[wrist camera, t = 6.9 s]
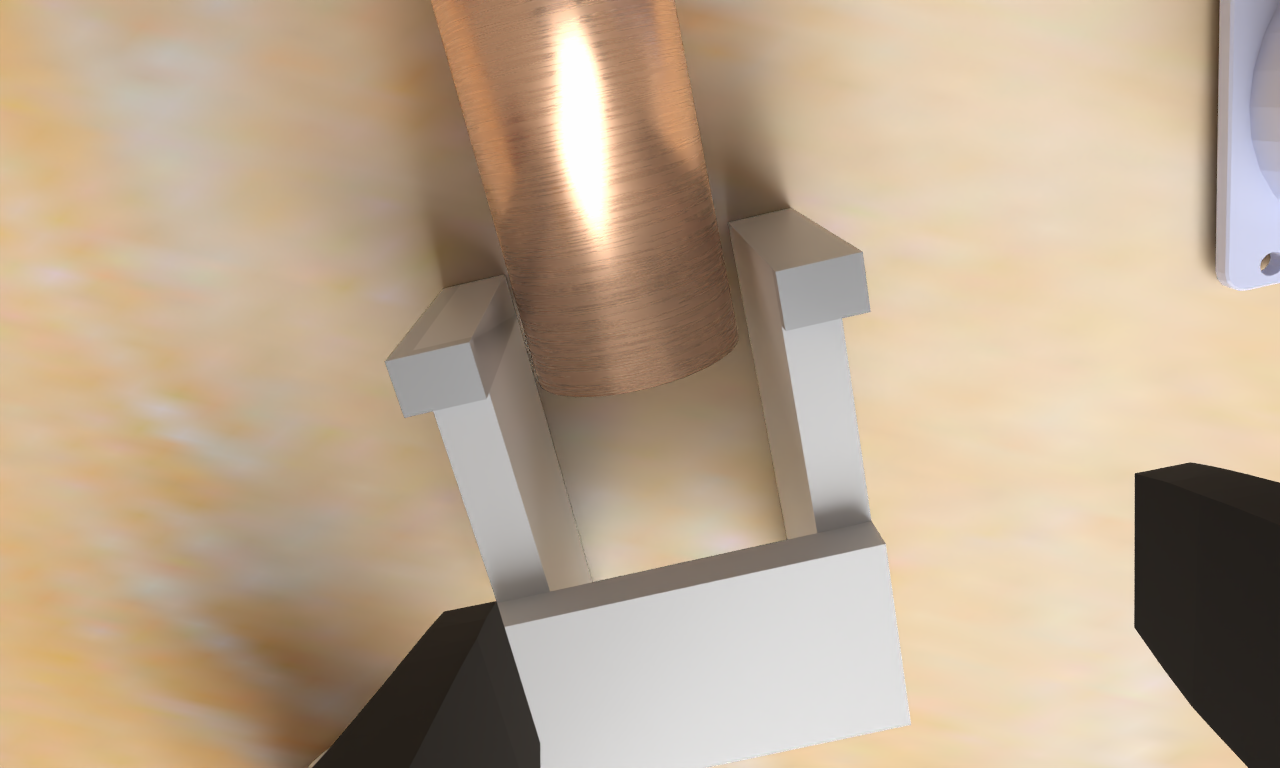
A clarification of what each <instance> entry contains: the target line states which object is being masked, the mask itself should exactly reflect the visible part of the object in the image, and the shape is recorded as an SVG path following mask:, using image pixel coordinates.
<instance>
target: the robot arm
mask: <svg viewBox="0 0 1280 768" xmlns="http://www.w3.org/2000/svg"><path fill="white" fill-rule="evenodd" d="M1268 254H1270V261H1269V264H1268V265H1267V266H1266V268H1265V269H1263V270H1261V269H1260V265H1261V261H1262V260H1263V258H1264V257H1265V256H1266V255H1268ZM1216 275H1217V279H1218V280H1219V282H1220V283H1221V284H1222V285H1224V286H1227V287H1229V288H1232V289H1235V290H1239V291H1240V290H1250V289H1255V288H1259V287H1264V286H1268V285H1273V284H1277V283H1280V0H1220V20H1219V86H1218V152H1217V217H1216ZM1134 627H1135V629H1136V630H1137V632H1138V633H1139V635H1140V636H1141V637H1142V639H1143V640H1144V642H1145V643H1146V645H1147V646H1148V647H1149V649H1150V650H1151V652H1152V653H1153V654H1154V656H1155V657H1156V659H1157V660H1158V662H1159V663H1160V664H1161V666H1162V667H1163V669H1164V670H1165V671H1166V673H1167V674H1168V675H1169V677H1170V678H1171V679H1172V681H1173V682H1174V683H1175V685H1176V686H1177V687H1178V689H1179V690H1180V691H1181V693H1182V694H1183V695H1184V697H1185V698H1186V699H1187V701H1188V702H1189V703H1190V705H1191V706H1192V707H1193V708H1194V709H1195V710H1196V712H1197V713H1198V714H1199V715H1200V716H1201V717H1202V718H1203V719H1204V720H1205V721H1206V723H1207V724H1208V725H1209V726H1210V727H1211V728H1212V729H1213V730H1214V731H1215V732H1216V733H1217V735H1218V736H1219V737H1220V738H1221V739H1222V740H1223V741H1224V742H1225V743H1226V744H1227V745H1228V746H1229V747H1230V748H1231V750H1232V751H1233V752H1234V753H1235V754H1236V755H1237V756H1238V757H1239V758H1240V759H1241V760H1242V761H1243V762H1244V764H1245V765H1246V766H1247V767H1248V768H1280V483H1279V482H1275V481H1271V480H1267V479H1263V478H1259V477H1255V476H1252V475H1248V474H1244V473H1239V472H1235V471H1231V470H1227V469H1222V468H1218V467H1213V466H1207V465H1202V464H1196V463H1185V464H1180V465H1175V466H1170V467H1165V468H1160V469H1155V470H1150V471H1145V472H1140V473H1135V612H1134ZM312 768H541V765H540V740H539V737H538V734H537V731H536V727H535V724H534V721H533V718H532V714H531V711H530V708H529V705H528V701H527V698H526V695H525V692H524V688H523V685H522V682H521V679H520V675H519V672H518V669H517V666H516V663H515V659H514V656H513V653H512V650H511V646H510V643H509V640H508V637H507V633H506V630H505V627H504V624H503V620H502V617H501V614H500V611H499V607H498V604H497V601H495V602H490V603H485V604H480V605H475V606H470V607H465V608H460V609H455V610H450V611H445V612H443V613H442V615H441V616H440V617H439V618H438V619H437V620H436V621H435V622H434V623H433V625H432V626H431V627H430V628H429V629H428V630H427V632H426V633H425V634H424V635H423V636H422V638H421V639H420V640H419V641H418V642H417V644H416V645H415V646H414V647H413V649H412V650H411V651H410V652H409V654H408V655H407V656H406V657H405V658H404V660H403V661H402V662H401V663H400V665H399V666H398V667H397V668H396V670H395V671H394V672H393V673H392V674H391V676H390V677H389V678H388V679H387V681H386V682H385V683H384V684H383V685H382V687H381V688H380V689H379V690H378V691H377V693H376V694H375V695H374V696H373V697H372V699H371V700H370V701H369V702H368V703H367V705H366V706H365V707H364V708H363V709H362V711H361V712H360V713H359V714H358V715H357V717H356V718H355V719H354V720H353V721H352V723H351V724H350V725H349V726H348V727H347V729H346V730H345V731H344V732H343V733H342V735H341V736H340V737H339V738H338V739H337V740H336V742H335V743H334V744H333V745H332V746H331V747H330V748H329V749H328V751H327V752H326V753H325V754H324V755H323V756H322V757H321V758H320V759H319V760H318V762H317V763H316V764H315V765H314V766H313V767H312Z"/></svg>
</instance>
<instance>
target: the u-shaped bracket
mask: <svg viewBox="0 0 1280 768" xmlns="http://www.w3.org/2000/svg"><path fill="white" fill-rule="evenodd" d="M728 225H729V231H730V236H731V242H732V247H733V252H734V258H735V263H736V268H737V274H738V279H739V284H740V290H741V295H742V301H743V306H744V311H745V317H746V322H747V327H748V333H749V338H750V343H751V349H752V354H753V360H754V365H755V370H756V376H757V381H758V386H759V392H760V397H761V402H762V408H763V413H764V418H765V424H766V429H767V435H768V440H769V445H770V451H771V456H772V461H773V467H774V472H775V477H776V483H777V488H778V494H779V499H780V504H781V510H782V515H783V520H784V526H785V531H786V536H787V540H783V541H779V542H774V543H770V544H765V545H760V546H756V547H751V548H747V549H742V550H738V551H733V552H728V553H724V554H719V555H715V556H710V557H706V558H701V559H696V560H692V561H687V562H683V563H678V564H674V565H669V566H665V567H660V568H655V569H651V570H646V571H642V572H637V573H633V574H628V575H623V576H619V577H614V578H610V579H605V580H601V581H596V582H592V579H591V575H590V572H589V568H588V565H587V561H586V558H585V554H584V551H583V547H582V544H581V540H580V537H579V533H578V530H577V526H576V523H575V519H574V516H573V512H572V509H571V505H570V502H569V498H568V494H567V491H566V487H565V484H564V480H563V477H562V473H561V470H560V466H559V463H558V459H557V456H556V452H555V449H554V445H553V442H552V438H551V435H550V431H549V428H548V424H547V421H546V417H545V414H544V410H543V407H542V403H541V400H540V396H539V393H538V389H537V386H536V382H535V379H534V375H533V372H532V368H531V365H530V361H529V357H528V354H527V350H526V347H525V343H524V340H523V336H522V333H521V329H520V326H519V322H518V319H517V315H516V312H515V308H514V305H513V301H512V298H511V294H510V291H509V287H508V284H507V280H506V277H505V274H504V275H499V276H495V277H491V278H487V279H482V280H478V281H474V282H469V283H465V284H461V285H456V286H452V287H448V288H443V289H442V291H441V292H440V293H439V294H438V296H437V297H436V298H435V299H434V301H433V302H432V303H431V304H430V306H429V307H428V308H427V309H426V311H425V312H424V313H423V314H422V316H421V317H420V318H419V319H418V321H417V322H416V323H415V324H414V326H413V327H412V328H411V329H410V331H409V332H408V333H407V334H406V336H405V337H404V338H403V339H402V341H401V342H400V343H399V344H398V346H397V347H396V348H395V349H394V351H393V352H392V353H391V354H390V356H389V357H388V358H387V359H386V361H385V364H386V367H387V369H388V372H389V375H390V378H391V381H392V384H393V387H394V390H395V392H396V395H397V398H398V401H399V404H400V407H401V410H402V413H403V415H404V418H406V417H410V416H415V415H419V414H423V413H428V412H432V411H433V412H434V415H435V418H436V421H437V424H438V427H439V430H440V433H441V436H442V439H443V442H444V445H445V448H446V451H447V454H448V457H449V460H450V463H451V466H452V469H453V472H454V475H455V478H456V481H457V484H458V487H459V490H460V493H461V496H462V499H463V502H464V505H465V508H466V511H467V514H468V517H469V520H470V523H471V526H472V529H473V532H474V535H475V538H476V541H477V544H478V547H479V550H480V553H481V556H482V559H483V562H484V565H485V568H486V571H487V574H488V577H489V580H490V583H491V586H492V589H493V592H494V595H495V598H496V601H497V604H498V607H499V611H500V614H501V617H502V620H503V624H504V627H505V630H506V633H507V637H508V640H509V643H510V646H511V650H512V653H513V656H514V659H515V663H516V666H517V669H518V672H519V675H520V679H521V682H522V685H523V688H524V692H525V695H526V698H527V701H528V705H529V708H530V711H531V714H532V718H533V721H534V724H535V727H536V731H537V734H538V737H539V740H540V765H541V768H708V767H712V766H717V765H722V764H727V763H731V762H736V761H741V760H746V759H750V758H755V757H760V756H765V755H769V754H774V753H779V752H784V751H788V750H793V749H798V748H803V747H807V746H812V745H817V744H822V743H826V742H831V741H836V740H841V739H845V738H850V737H855V736H860V735H864V734H869V733H874V732H879V731H883V730H888V729H893V728H898V727H902V726H907V725H911V721H910V714H909V707H908V700H907V693H906V685H905V678H904V671H903V664H902V657H901V650H900V643H899V635H898V628H897V621H896V614H895V607H894V600H893V592H892V585H891V578H890V571H889V564H888V557H887V550H886V544H885V542H884V540H883V539H882V537H881V536H880V534H879V532H878V531H877V529H876V528H875V526H874V525H873V523H872V521H871V515H870V508H869V501H868V494H867V487H866V480H865V474H864V467H863V460H862V453H861V446H860V439H859V432H858V425H857V418H856V412H855V405H854V398H853V391H852V384H851V377H850V370H849V363H848V356H847V350H846V343H845V336H844V329H843V322H842V318H846V317H850V316H854V315H859V314H863V313H868V312H871V311H870V304H869V296H868V289H867V281H866V274H865V266H864V259H863V252H862V251H861V250H859V249H857V248H856V247H854V246H852V245H851V244H849V243H848V242H846V241H844V240H843V239H841V238H839V237H838V236H836V235H835V234H833V233H831V232H830V231H828V230H826V229H825V228H823V227H822V226H820V225H818V224H817V223H815V222H813V221H812V220H810V219H809V218H807V217H805V216H804V215H802V214H800V213H799V212H797V211H796V210H794V209H792V208H788V209H784V210H779V211H775V212H771V213H766V214H762V215H758V216H754V217H749V218H745V219H741V220H736V221H732V222H728Z"/></svg>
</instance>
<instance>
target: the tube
mask: <svg viewBox="0 0 1280 768" xmlns="http://www.w3.org/2000/svg"><path fill="white" fill-rule="evenodd" d="M431 3H432V6H433V10H434V13H435V17H436V20H437V24H438V27H439V31H440V34H441V38H442V41H443V45H444V48H445V52H446V56H447V59H448V63H449V66H450V70H451V73H452V77H453V80H454V84H455V87H456V91H457V94H458V98H459V101H460V105H461V108H462V112H463V116H464V119H465V123H466V126H467V130H468V133H469V137H470V140H471V144H472V147H473V151H474V154H475V158H476V161H477V165H478V169H479V172H480V176H481V179H482V183H483V186H484V190H485V193H486V197H487V200H488V204H489V207H490V211H491V214H492V218H493V221H494V225H495V229H496V232H497V236H498V239H499V243H500V246H501V250H502V253H503V257H504V260H505V264H506V267H507V271H508V274H509V278H510V282H511V285H512V289H513V292H514V296H515V299H516V303H517V306H518V310H519V313H520V317H521V320H522V324H523V327H524V331H525V334H526V338H527V342H528V345H529V349H530V352H531V356H532V359H533V363H534V366H535V370H536V373H537V377H538V380H539V383H540V386H541V387H542V388H543V389H545V390H547V391H548V392H551V393H554V394H558V395H563V396H572V397H596V396H607V395H616V394H622V393H629V392H633V391H638V390H643V389H647V388H651V387H655V386H659V385H662V384H666V383H669V382H672V381H675V380H678V379H681V378H683V377H686V376H689V375H691V374H693V373H696V372H698V371H700V370H702V369H704V368H706V367H708V366H710V365H712V364H714V363H715V362H717V361H719V360H720V359H722V358H723V357H724V356H726V355H727V354H728V353H729V352H730V351H731V350H732V349H733V348H734V347H735V346H736V344H737V342H738V331H737V326H736V321H735V315H734V310H733V305H732V300H731V295H730V289H729V284H728V279H727V274H726V268H725V263H724V258H723V253H722V247H721V242H720V237H719V232H718V227H717V221H716V216H715V211H714V206H713V200H712V195H711V190H710V185H709V179H708V174H707V169H706V164H705V158H704V153H703V148H702V143H701V138H700V132H699V127H698V122H697V117H696V111H695V106H694V101H693V96H692V90H691V85H690V80H689V75H688V70H687V64H686V59H685V54H684V49H683V43H682V38H681V33H680V28H679V22H678V17H677V12H676V7H675V2H674V0H431Z"/></svg>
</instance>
